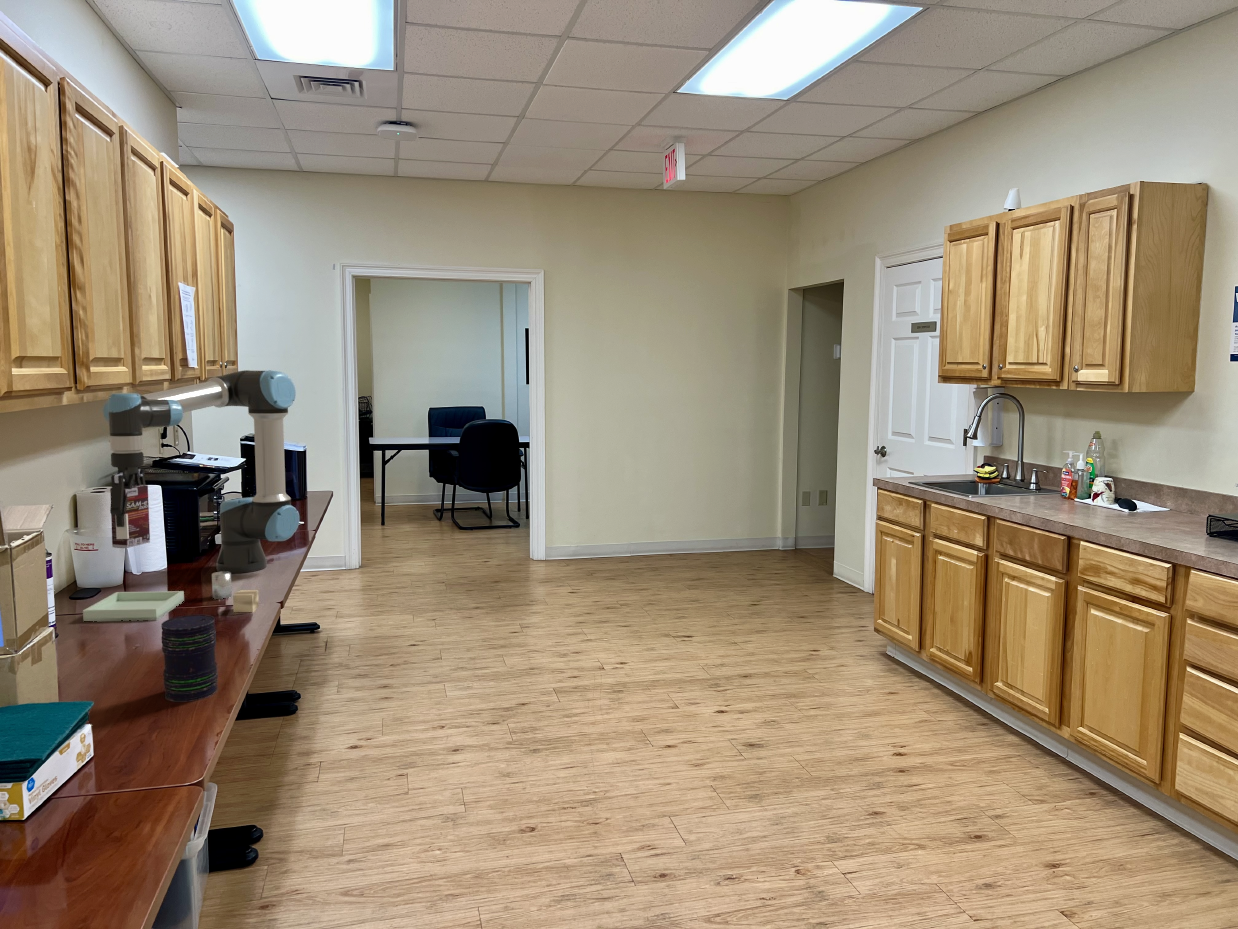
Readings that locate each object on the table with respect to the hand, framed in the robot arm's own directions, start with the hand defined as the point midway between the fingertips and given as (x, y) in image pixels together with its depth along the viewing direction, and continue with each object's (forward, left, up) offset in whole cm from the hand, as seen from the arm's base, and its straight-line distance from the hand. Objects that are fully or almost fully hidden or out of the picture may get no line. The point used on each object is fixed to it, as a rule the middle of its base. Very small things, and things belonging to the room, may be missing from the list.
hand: (131, 535), depth 228 cm
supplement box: (0, 0, -3) cm, 3 cm away
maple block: (+1, +29, -21) cm, 36 cm away
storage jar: (+61, +37, -21) cm, 74 cm away
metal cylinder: (-13, +18, -21) cm, 31 cm away
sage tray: (0, 0, -21) cm, 21 cm away
